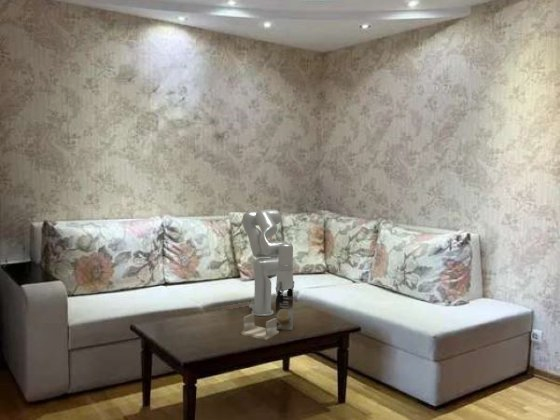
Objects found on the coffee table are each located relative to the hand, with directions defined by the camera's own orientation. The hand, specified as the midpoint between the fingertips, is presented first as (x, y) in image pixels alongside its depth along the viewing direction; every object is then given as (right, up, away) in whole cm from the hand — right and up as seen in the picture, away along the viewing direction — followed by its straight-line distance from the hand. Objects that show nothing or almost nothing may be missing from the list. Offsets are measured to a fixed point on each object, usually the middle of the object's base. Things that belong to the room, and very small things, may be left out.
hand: (285, 300), depth 261 cm
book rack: (-13, -15, -8) cm, 21 cm away
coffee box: (-1, -15, +2) cm, 15 cm away
